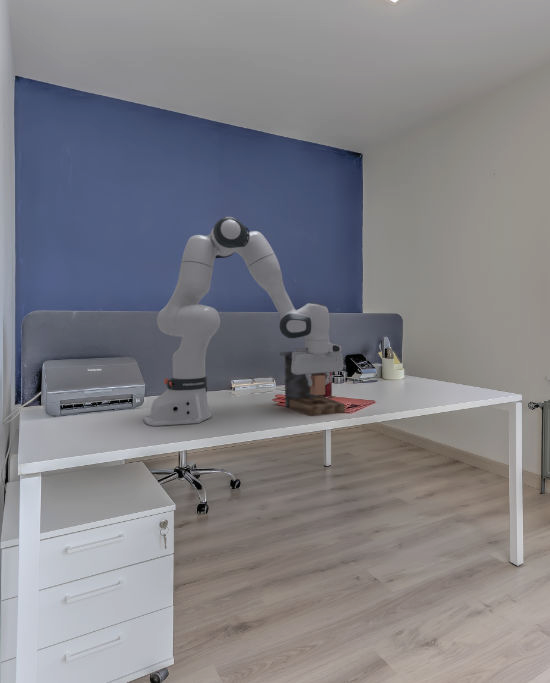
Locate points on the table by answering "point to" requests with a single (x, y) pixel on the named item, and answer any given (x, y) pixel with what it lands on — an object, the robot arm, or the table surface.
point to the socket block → (306, 393)
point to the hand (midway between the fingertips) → (317, 385)
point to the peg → (318, 384)
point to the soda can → (328, 386)
